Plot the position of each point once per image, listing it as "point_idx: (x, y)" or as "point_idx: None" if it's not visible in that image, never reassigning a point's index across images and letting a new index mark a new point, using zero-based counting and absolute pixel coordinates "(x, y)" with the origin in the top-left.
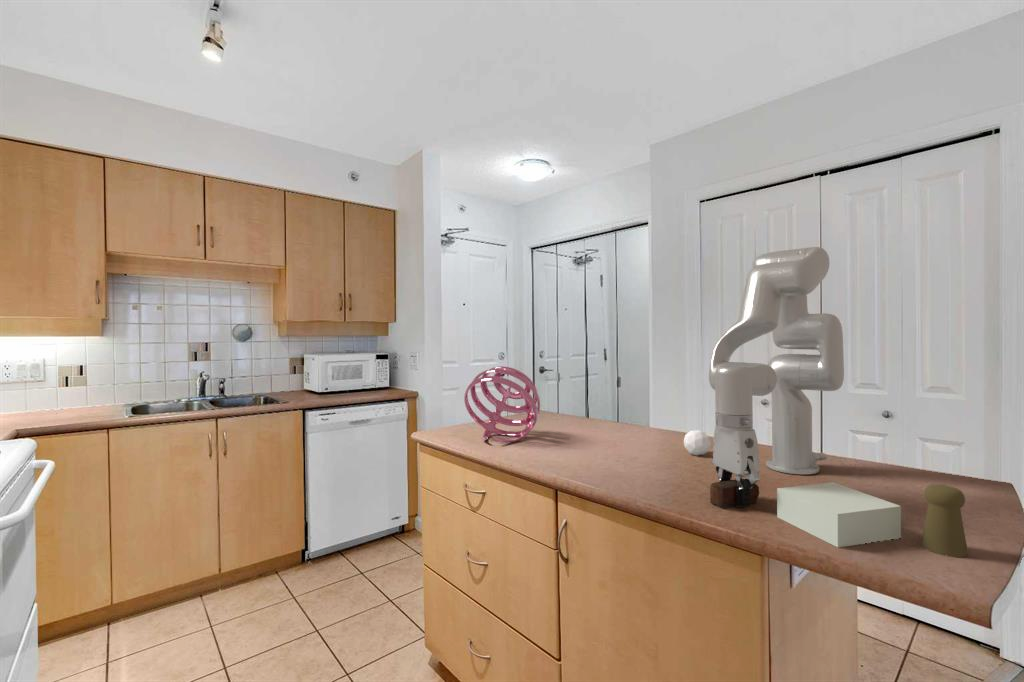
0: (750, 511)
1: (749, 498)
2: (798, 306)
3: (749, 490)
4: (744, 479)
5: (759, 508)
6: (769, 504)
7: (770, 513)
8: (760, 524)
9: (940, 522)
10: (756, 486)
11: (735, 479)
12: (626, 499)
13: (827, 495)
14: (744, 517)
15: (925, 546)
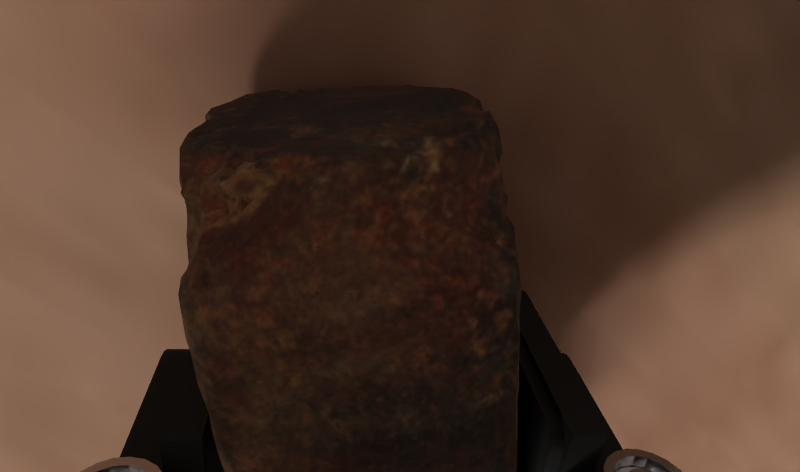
0: (589, 338)
1: (547, 340)
2: None
3: (586, 410)
4: (274, 306)
5: (583, 214)
6: (559, 3)
7: (722, 210)
8: (787, 427)
9: None
10: (506, 197)
11: (222, 436)
12: None
13: None
14: (645, 447)
15: None
